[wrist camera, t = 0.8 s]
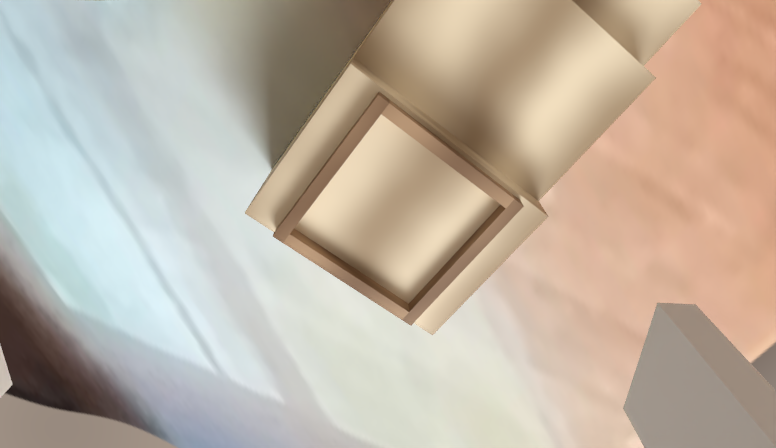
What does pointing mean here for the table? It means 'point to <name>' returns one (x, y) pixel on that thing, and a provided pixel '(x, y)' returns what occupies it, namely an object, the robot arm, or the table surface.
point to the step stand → (455, 139)
